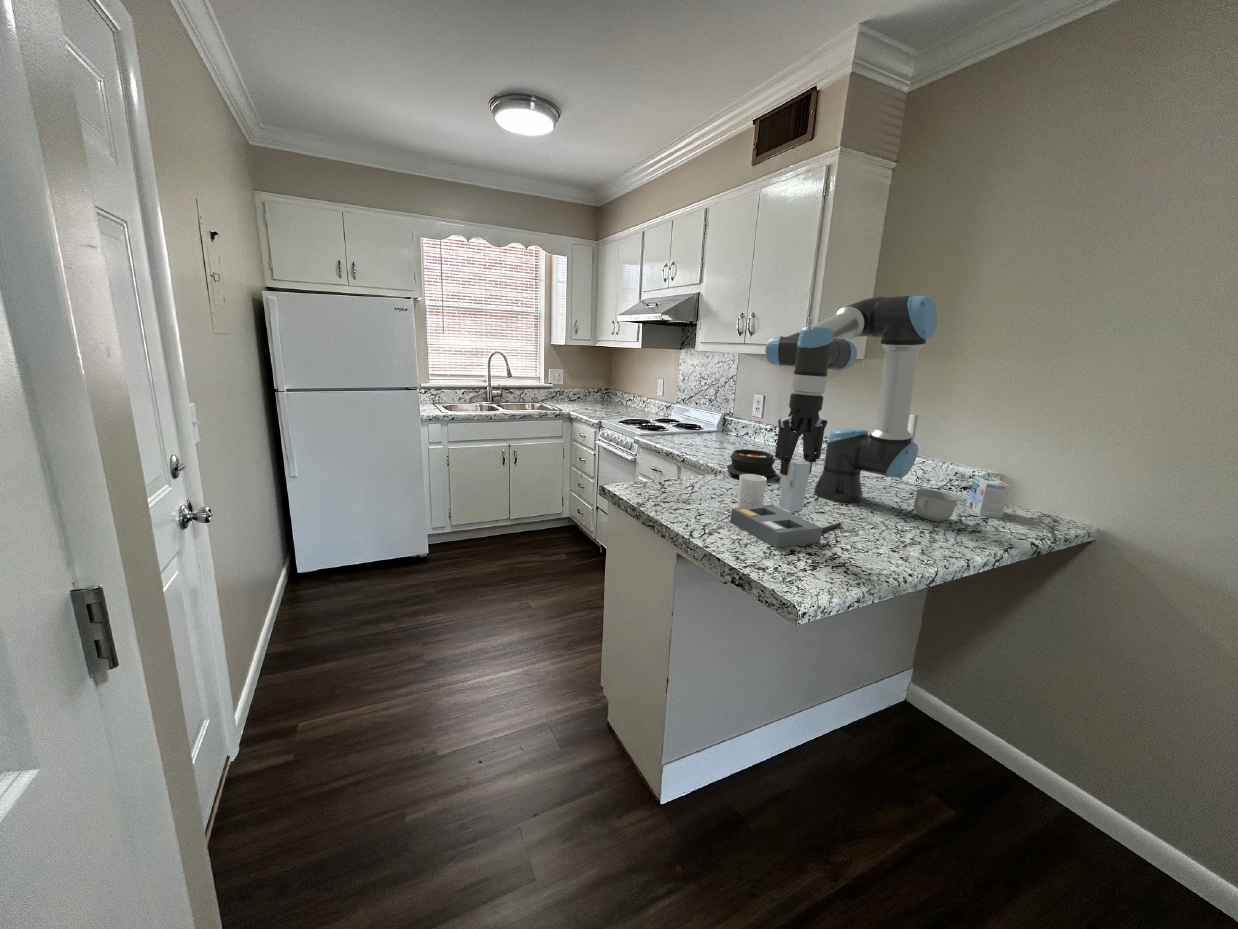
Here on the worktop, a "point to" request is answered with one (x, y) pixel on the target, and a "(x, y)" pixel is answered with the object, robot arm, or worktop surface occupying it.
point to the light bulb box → (988, 496)
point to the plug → (795, 487)
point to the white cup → (751, 490)
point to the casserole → (751, 463)
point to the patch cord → (831, 527)
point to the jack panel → (776, 526)
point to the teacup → (934, 504)
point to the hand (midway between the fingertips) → (793, 486)
